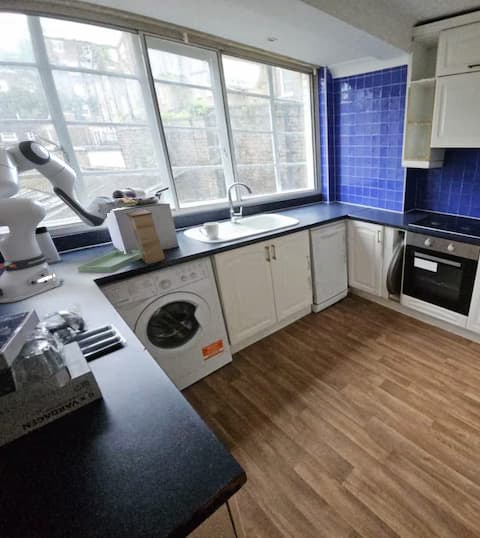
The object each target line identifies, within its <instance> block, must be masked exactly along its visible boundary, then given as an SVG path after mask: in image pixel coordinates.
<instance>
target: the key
mask: <svg viewBox="0 0 480 538" xmlns="http://www.w3.org/2000/svg"><path fill="white" fill-rule="evenodd" d="M118 199H119V200H120V202H123V204H125V205H129V204H137V203H138V202H137V201H135V200H131V201H130V200H127V199H125V198H124V197H122V198H118Z"/></svg>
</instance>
